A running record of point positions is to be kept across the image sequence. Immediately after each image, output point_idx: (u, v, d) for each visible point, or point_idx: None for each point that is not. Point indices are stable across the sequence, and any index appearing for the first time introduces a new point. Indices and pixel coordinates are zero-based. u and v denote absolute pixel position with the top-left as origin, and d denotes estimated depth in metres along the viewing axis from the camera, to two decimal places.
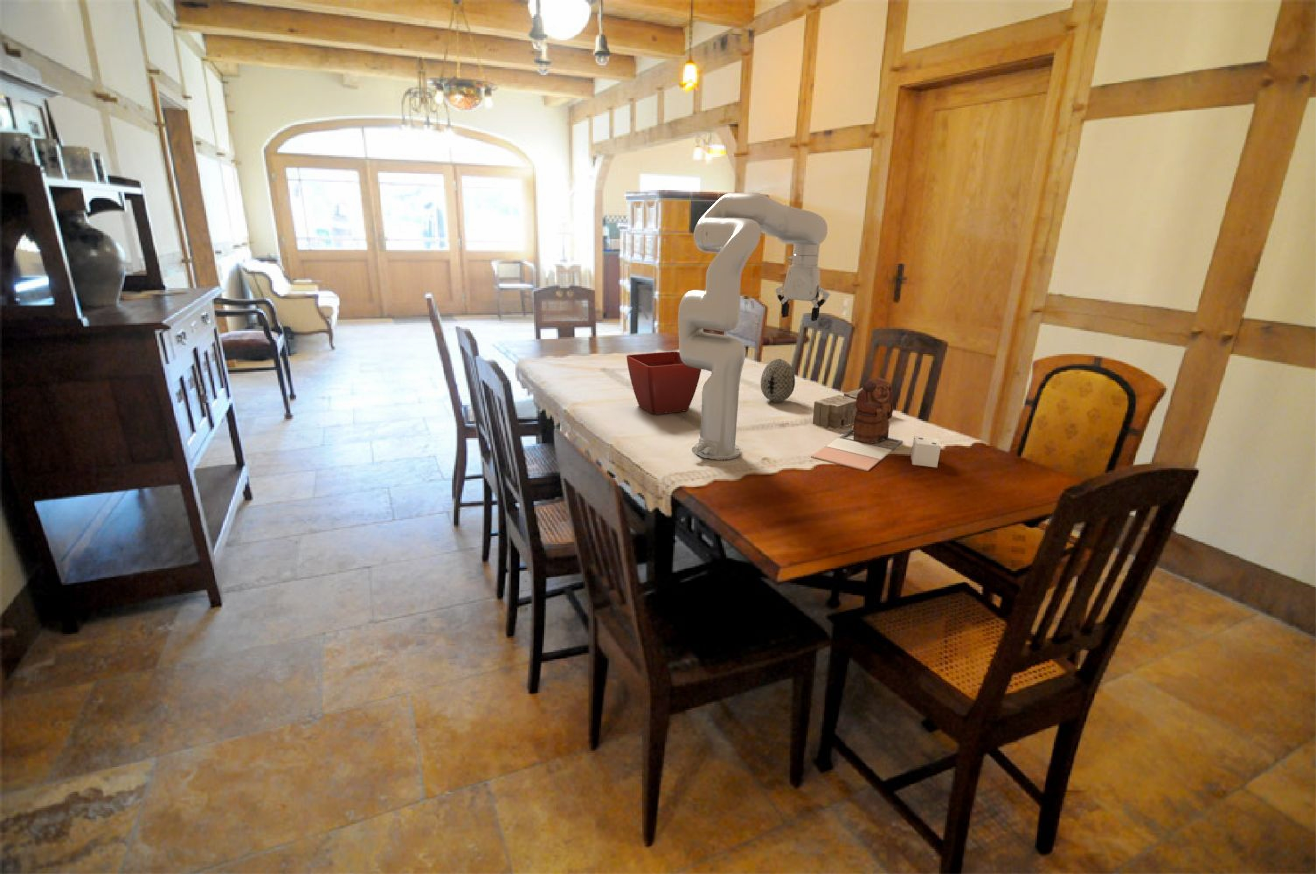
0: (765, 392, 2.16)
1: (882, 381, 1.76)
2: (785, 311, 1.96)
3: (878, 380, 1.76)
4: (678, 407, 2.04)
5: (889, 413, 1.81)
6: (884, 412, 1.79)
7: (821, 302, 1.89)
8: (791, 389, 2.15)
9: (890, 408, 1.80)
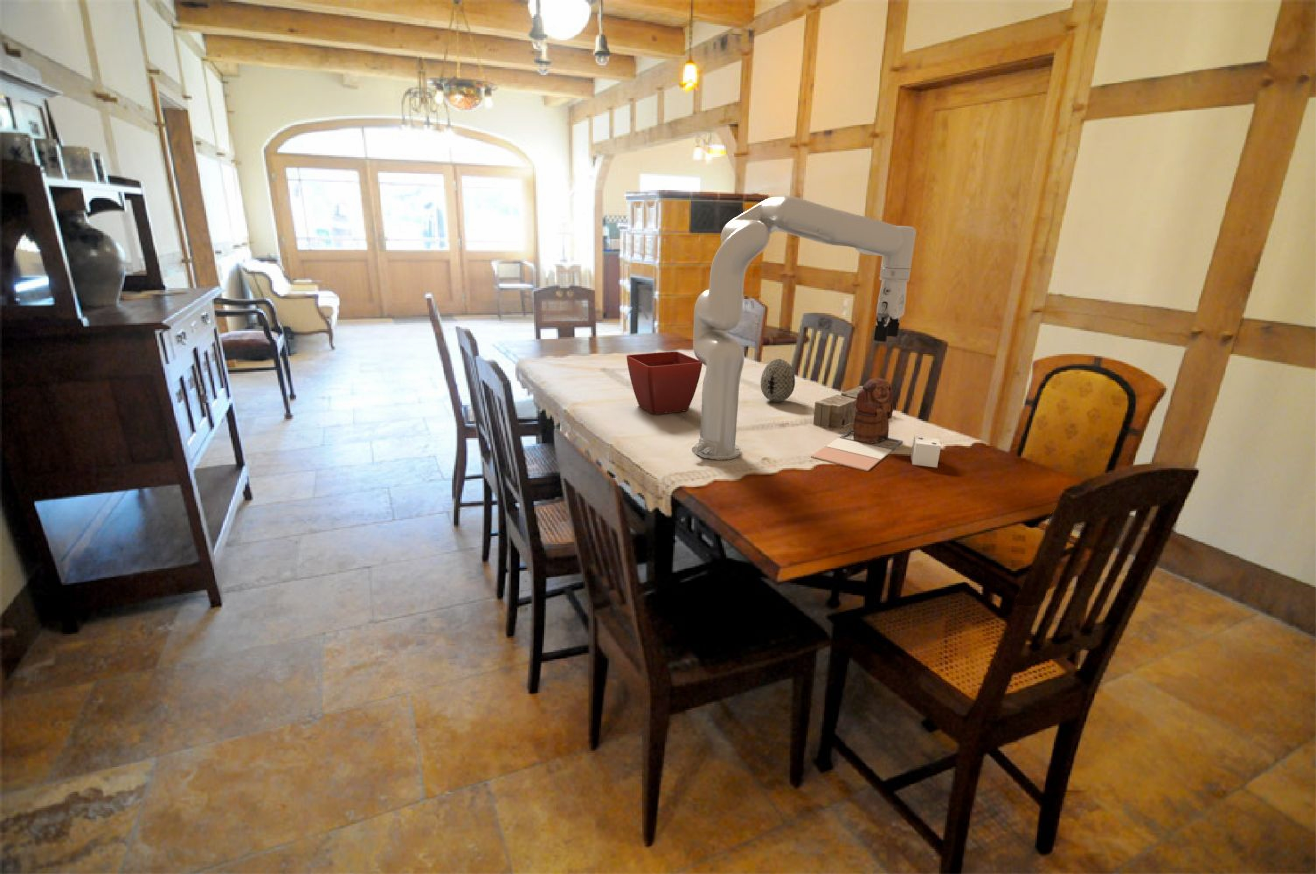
0: (765, 392, 2.16)
1: (882, 381, 1.76)
2: None
3: (878, 380, 1.76)
4: (678, 407, 2.04)
5: (889, 413, 1.81)
6: (884, 412, 1.79)
7: None
8: (791, 389, 2.15)
9: (890, 408, 1.80)
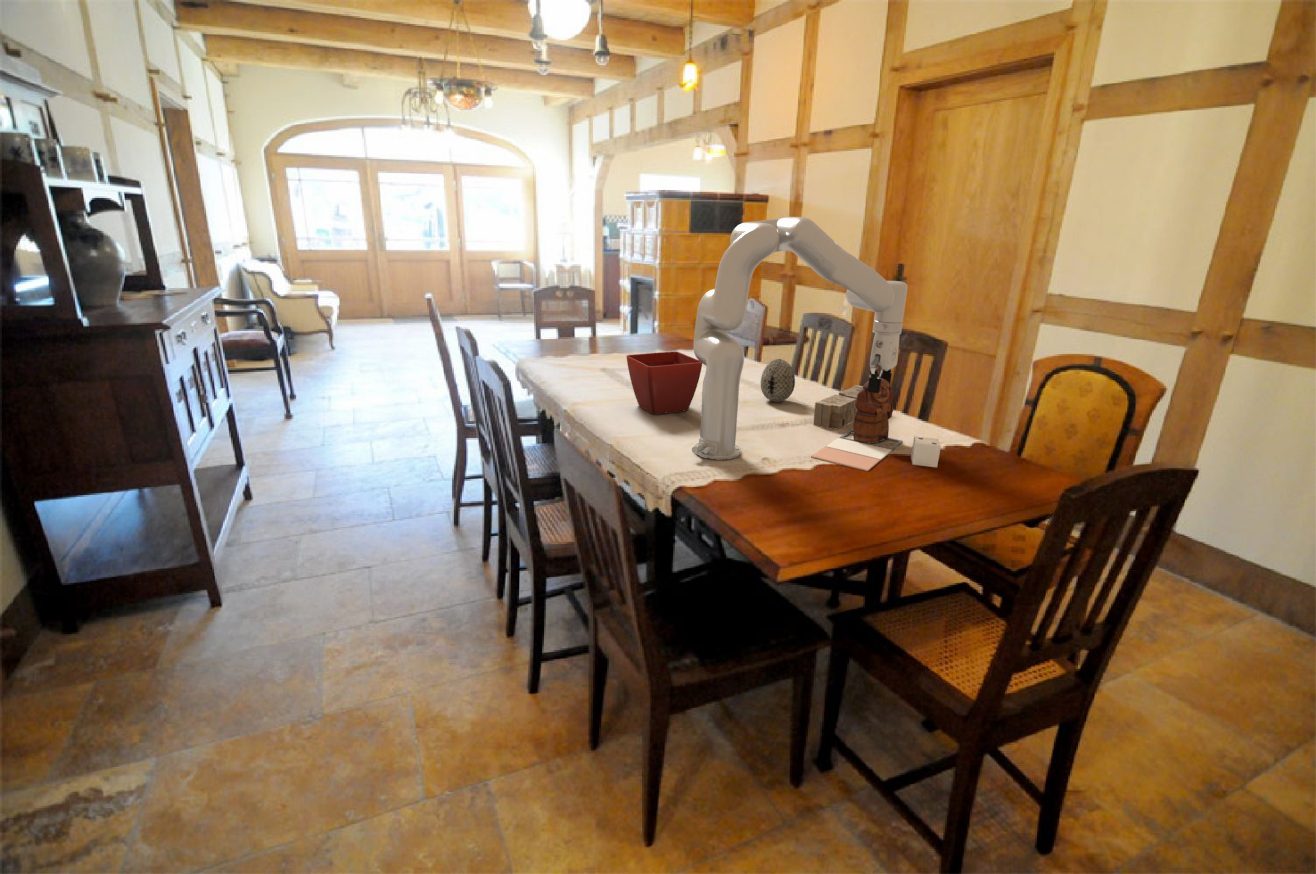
0: (765, 392, 2.16)
1: (882, 381, 1.76)
2: None
3: None
4: (678, 407, 2.04)
5: (889, 413, 1.81)
6: (884, 412, 1.79)
7: None
8: (791, 389, 2.15)
9: (890, 408, 1.80)
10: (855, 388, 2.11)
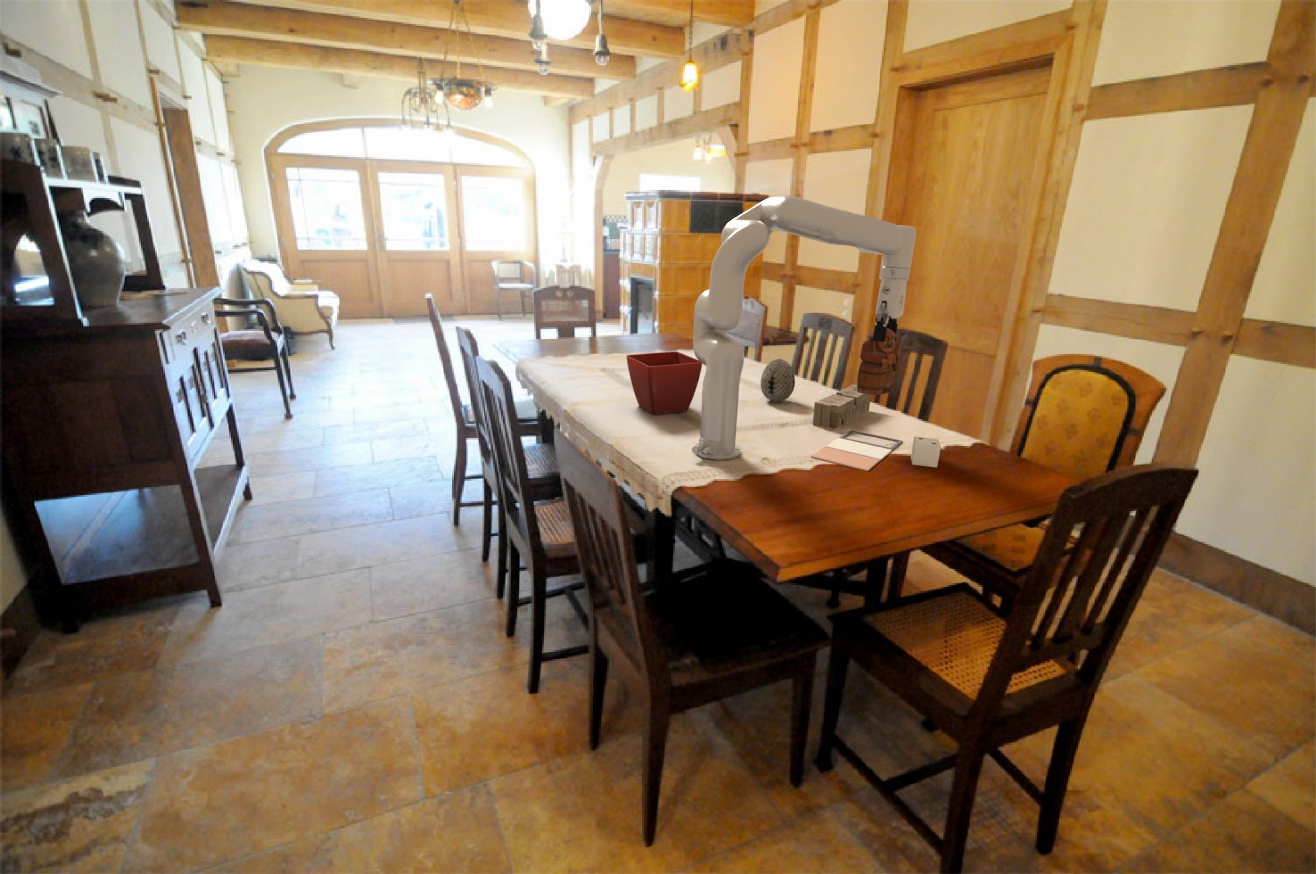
0: (765, 392, 2.16)
1: (888, 330, 1.72)
2: None
3: None
4: (678, 407, 2.04)
5: (894, 365, 1.76)
6: (889, 363, 1.74)
7: None
8: (791, 389, 2.15)
9: (895, 360, 1.76)
10: (852, 387, 2.12)
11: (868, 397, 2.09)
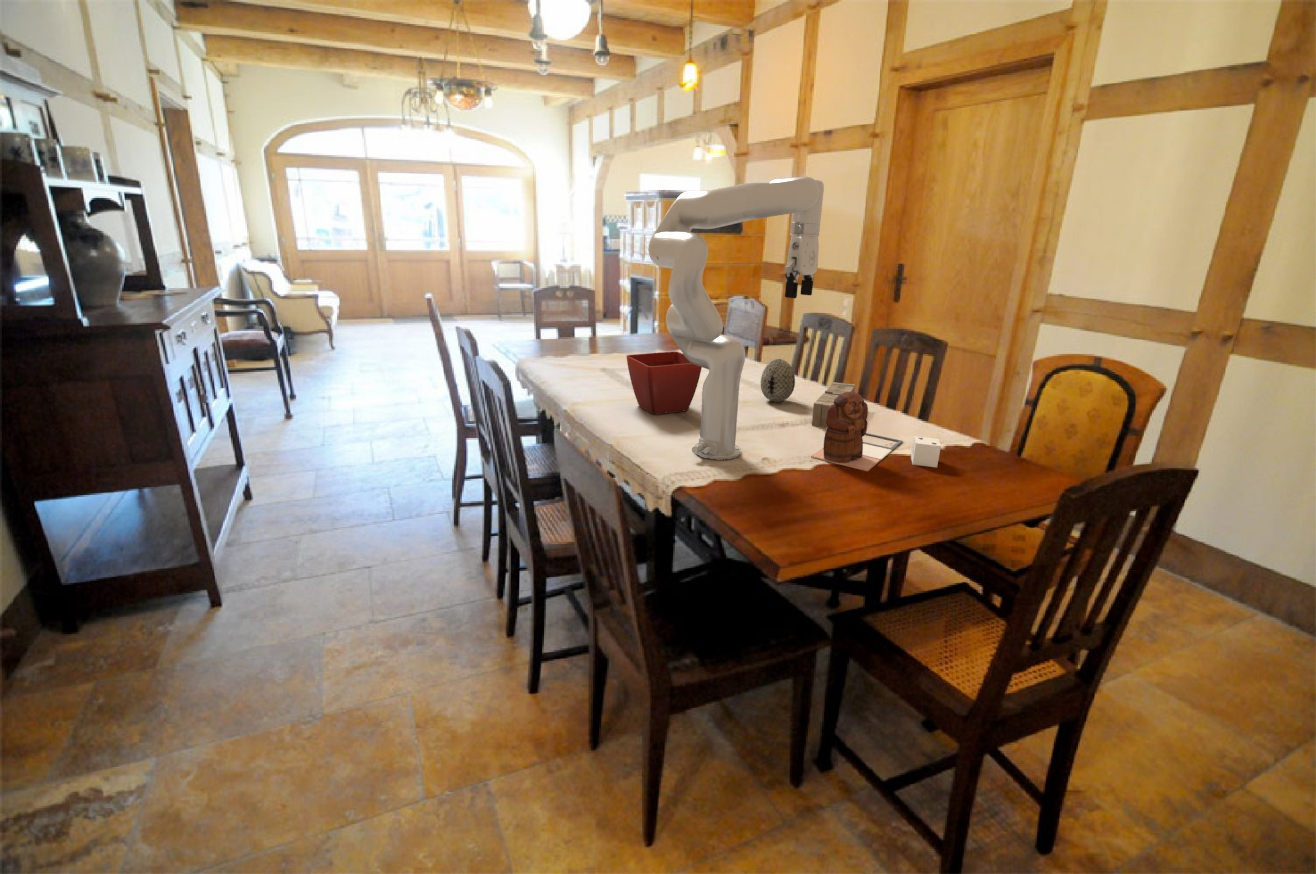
0: (765, 392, 2.16)
1: (854, 395, 1.61)
2: None
3: (850, 394, 1.61)
4: (678, 407, 2.04)
5: (863, 430, 1.66)
6: (857, 429, 1.63)
7: None
8: (791, 389, 2.15)
9: (864, 424, 1.65)
10: (835, 385, 2.14)
11: None
